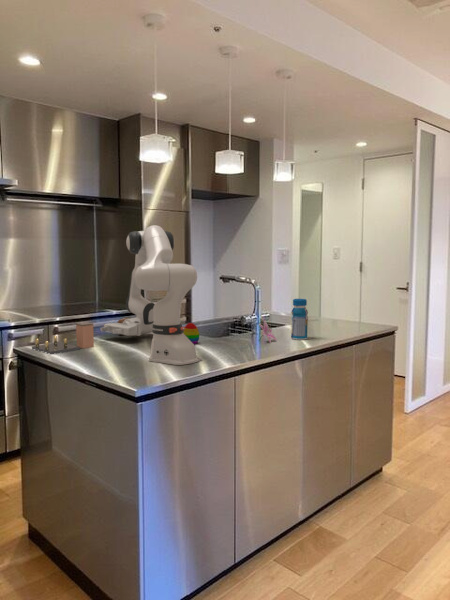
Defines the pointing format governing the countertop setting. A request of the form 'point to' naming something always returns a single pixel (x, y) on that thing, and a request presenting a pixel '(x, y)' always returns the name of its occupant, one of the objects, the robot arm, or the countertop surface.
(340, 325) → the countertop surface
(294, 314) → the beverage bottle
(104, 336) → the countertop surface
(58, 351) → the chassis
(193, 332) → the decorative egg
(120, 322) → the tin
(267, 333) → the lily
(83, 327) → the block
